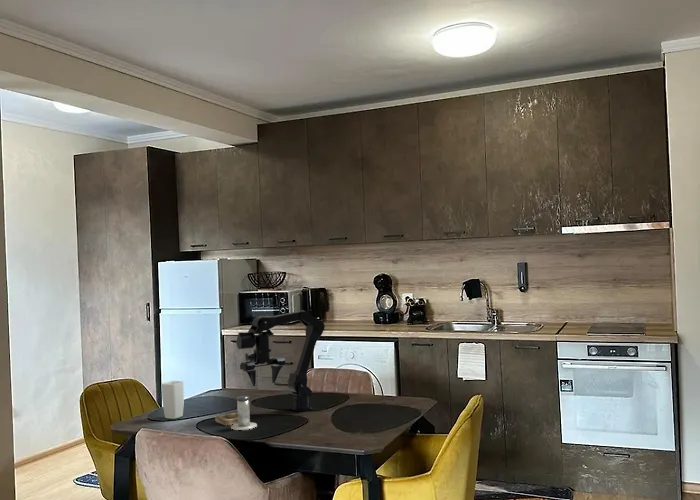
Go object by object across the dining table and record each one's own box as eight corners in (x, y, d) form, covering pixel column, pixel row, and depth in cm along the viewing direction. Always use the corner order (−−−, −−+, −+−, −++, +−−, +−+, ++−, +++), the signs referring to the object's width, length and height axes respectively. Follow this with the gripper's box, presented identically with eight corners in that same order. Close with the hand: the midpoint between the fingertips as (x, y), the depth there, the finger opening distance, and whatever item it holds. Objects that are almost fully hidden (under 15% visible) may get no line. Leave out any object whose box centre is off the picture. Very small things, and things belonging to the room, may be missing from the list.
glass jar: (243, 423, 253) (242, 395, 253) (253, 424, 251) (251, 396, 251) (235, 426, 249) (234, 397, 249) (244, 427, 246) (243, 398, 247)
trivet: (249, 422, 257) (249, 421, 257) (261, 427, 249) (261, 425, 249) (226, 427, 251) (226, 425, 251) (238, 432, 243) (238, 430, 243)
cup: (186, 416, 271) (185, 381, 272) (173, 420, 265) (172, 384, 265) (174, 415, 275) (172, 380, 275) (161, 419, 269) (159, 383, 269)
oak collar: (237, 417, 267) (237, 412, 267) (249, 421, 259) (249, 416, 259) (215, 421, 261) (215, 416, 261) (226, 425, 253) (226, 420, 253)
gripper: (272, 342, 279) (273, 379, 279) (233, 347, 268) (234, 385, 268) (285, 344, 270) (287, 382, 270) (245, 350, 259) (247, 388, 259)
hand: (263, 384), depth 267 cm, fingers open, 9 cm apart
